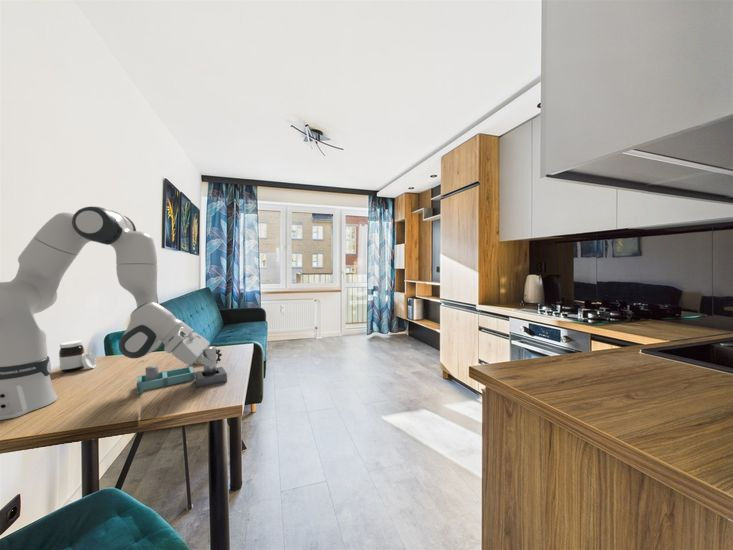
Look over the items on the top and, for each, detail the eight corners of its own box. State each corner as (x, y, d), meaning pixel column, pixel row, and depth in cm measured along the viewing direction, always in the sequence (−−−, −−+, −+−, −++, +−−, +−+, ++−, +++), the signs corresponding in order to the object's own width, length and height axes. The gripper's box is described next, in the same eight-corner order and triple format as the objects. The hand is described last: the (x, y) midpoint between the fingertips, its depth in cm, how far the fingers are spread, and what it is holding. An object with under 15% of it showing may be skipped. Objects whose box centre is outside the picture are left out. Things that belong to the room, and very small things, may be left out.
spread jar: (61, 369, 132) (59, 342, 132) (96, 362, 140) (94, 337, 139) (59, 376, 123) (57, 347, 123) (97, 369, 131) (95, 341, 131)
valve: (187, 365, 134) (210, 367, 130) (187, 349, 133) (210, 351, 130) (200, 360, 140) (222, 362, 137) (199, 345, 140) (221, 347, 136)
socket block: (198, 391, 105) (197, 379, 105) (195, 382, 113) (194, 371, 112) (227, 384, 110) (226, 373, 110) (222, 377, 118) (222, 366, 117)
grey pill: (205, 384, 109) (203, 349, 108) (204, 380, 112) (202, 347, 111) (218, 381, 111) (216, 347, 110) (216, 377, 114) (214, 345, 114)
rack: (137, 394, 104) (135, 373, 104) (138, 385, 111) (137, 366, 111) (195, 382, 113) (194, 363, 113) (192, 374, 121) (191, 357, 121)
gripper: (182, 337, 118) (211, 359, 121) (162, 352, 98) (198, 378, 101) (194, 324, 119) (223, 347, 122) (177, 336, 99) (212, 363, 102)
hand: (212, 361), depth 111 cm, fingers closed on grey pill, 4 cm apart
